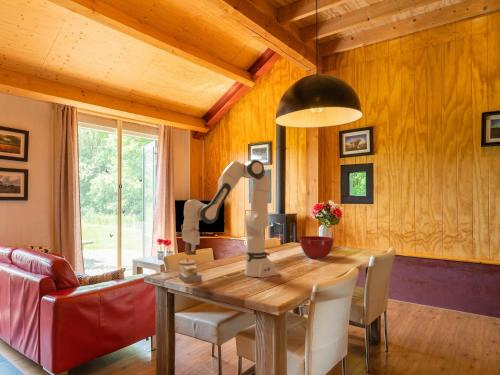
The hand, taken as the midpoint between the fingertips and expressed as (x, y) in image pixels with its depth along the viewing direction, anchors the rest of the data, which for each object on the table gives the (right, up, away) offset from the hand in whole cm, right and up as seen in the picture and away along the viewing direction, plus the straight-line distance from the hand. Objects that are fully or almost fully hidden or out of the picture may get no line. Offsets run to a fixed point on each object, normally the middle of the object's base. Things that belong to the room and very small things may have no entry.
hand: (190, 250), depth 189 cm
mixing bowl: (+89, -20, +72) cm, 116 cm away
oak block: (0, -14, 0) cm, 14 cm away
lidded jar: (-4, -17, +12) cm, 21 cm away
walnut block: (0, -2, 0) cm, 2 cm away
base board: (0, -17, 0) cm, 17 cm away
